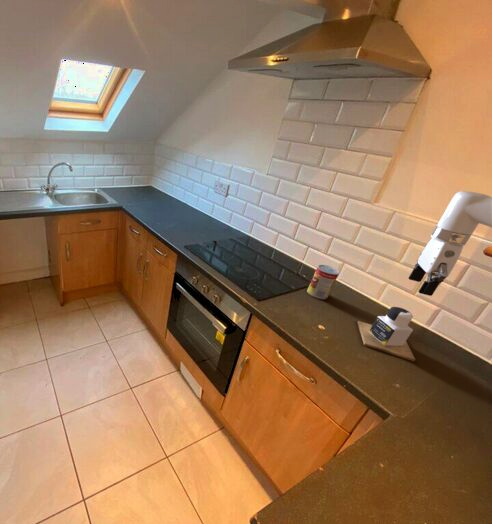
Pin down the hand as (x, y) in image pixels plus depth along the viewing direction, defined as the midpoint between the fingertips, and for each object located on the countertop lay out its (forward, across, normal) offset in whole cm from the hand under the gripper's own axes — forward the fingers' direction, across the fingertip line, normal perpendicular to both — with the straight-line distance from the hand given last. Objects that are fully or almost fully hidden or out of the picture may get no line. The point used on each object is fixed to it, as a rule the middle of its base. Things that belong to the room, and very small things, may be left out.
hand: (419, 286), depth 93 cm
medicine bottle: (+22, 0, +1) cm, 22 cm away
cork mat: (+22, 0, +1) cm, 22 cm away
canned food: (+22, +21, +21) cm, 37 cm away
